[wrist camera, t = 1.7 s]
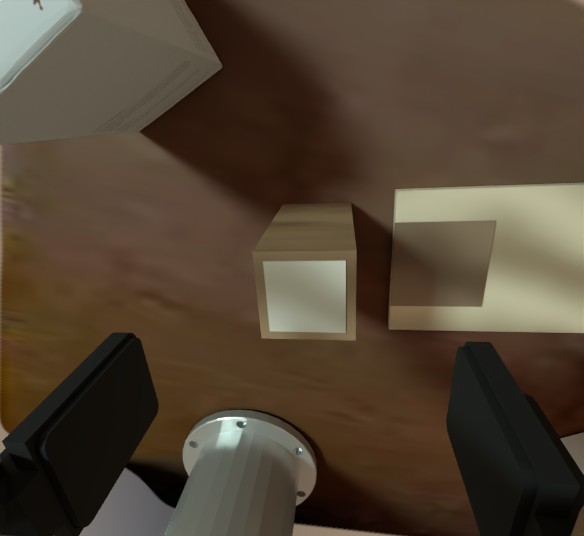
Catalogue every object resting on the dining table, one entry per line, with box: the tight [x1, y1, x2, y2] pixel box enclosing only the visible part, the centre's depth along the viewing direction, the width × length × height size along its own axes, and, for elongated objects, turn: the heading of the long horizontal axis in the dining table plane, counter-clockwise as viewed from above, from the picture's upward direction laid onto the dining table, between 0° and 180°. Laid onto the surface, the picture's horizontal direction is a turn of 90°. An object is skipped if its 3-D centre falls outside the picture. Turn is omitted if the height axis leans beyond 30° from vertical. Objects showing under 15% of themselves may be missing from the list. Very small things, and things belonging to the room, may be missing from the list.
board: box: [388, 183, 584, 333], centre depth 23 cm, size 10×16×1 cm, turn 93°
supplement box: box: [0, 0, 222, 145], centre depth 15 cm, size 7×7×13 cm
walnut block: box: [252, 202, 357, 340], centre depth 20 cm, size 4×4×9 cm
